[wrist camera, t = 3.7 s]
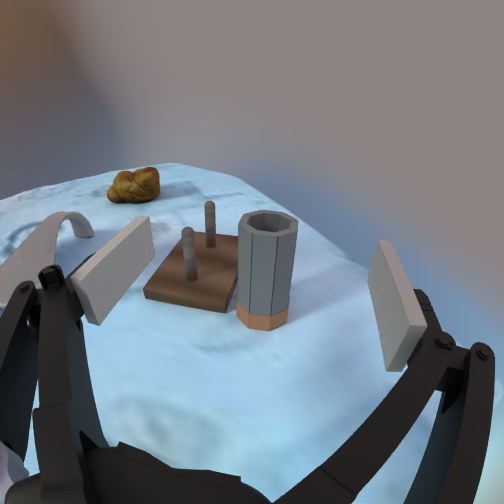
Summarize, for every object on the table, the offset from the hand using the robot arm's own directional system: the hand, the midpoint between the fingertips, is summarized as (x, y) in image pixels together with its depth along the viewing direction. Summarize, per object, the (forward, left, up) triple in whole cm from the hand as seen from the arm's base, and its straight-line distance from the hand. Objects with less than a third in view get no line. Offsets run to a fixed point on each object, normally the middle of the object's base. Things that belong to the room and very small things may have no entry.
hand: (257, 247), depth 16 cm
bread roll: (+40, +34, -14) cm, 54 cm away
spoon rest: (+10, +33, -15) cm, 38 cm away
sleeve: (+10, 0, -14) cm, 17 cm away
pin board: (+17, +9, -14) cm, 24 cm away
